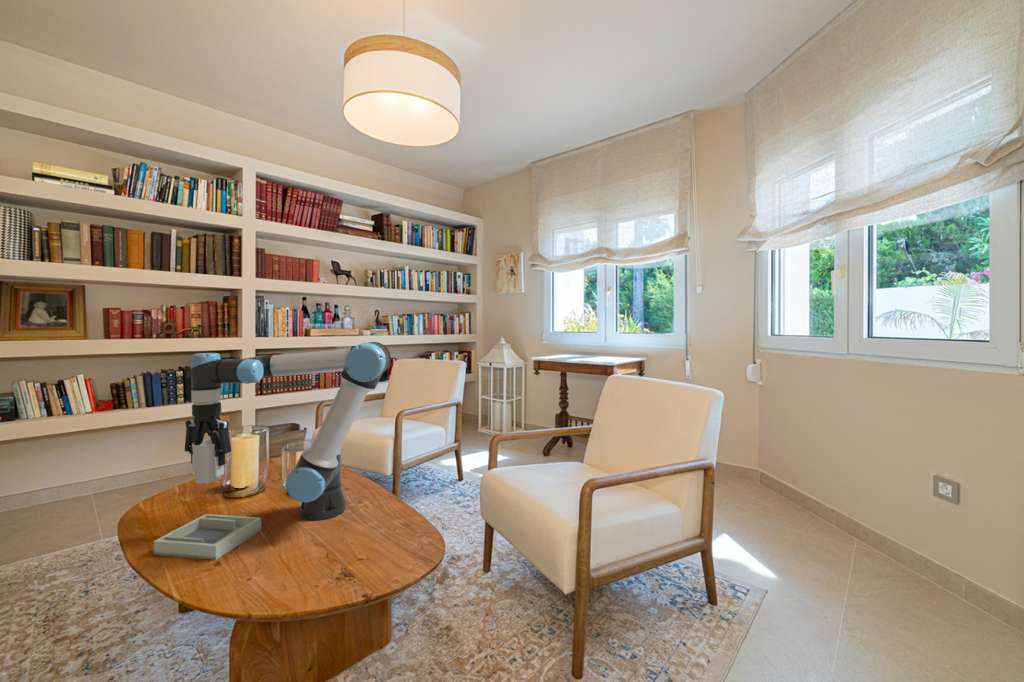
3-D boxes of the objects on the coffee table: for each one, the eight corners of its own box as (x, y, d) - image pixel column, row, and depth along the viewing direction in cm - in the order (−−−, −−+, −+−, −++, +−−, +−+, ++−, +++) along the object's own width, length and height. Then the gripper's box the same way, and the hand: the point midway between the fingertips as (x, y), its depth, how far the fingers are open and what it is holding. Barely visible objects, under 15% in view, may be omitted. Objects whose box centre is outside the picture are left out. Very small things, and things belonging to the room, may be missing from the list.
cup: (229, 476, 140) (229, 439, 139) (209, 485, 132) (208, 446, 132) (208, 474, 141) (207, 438, 141) (186, 483, 133) (185, 445, 133)
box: (261, 529, 140) (261, 517, 140) (216, 559, 123) (215, 546, 122) (206, 525, 143) (205, 513, 143) (154, 554, 125) (153, 541, 125)
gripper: (244, 401, 137) (245, 472, 138) (190, 399, 141) (192, 468, 142) (224, 406, 130) (226, 481, 131) (168, 403, 134) (170, 476, 135)
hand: (208, 474), depth 136 cm, fingers closed on cup, 7 cm apart
